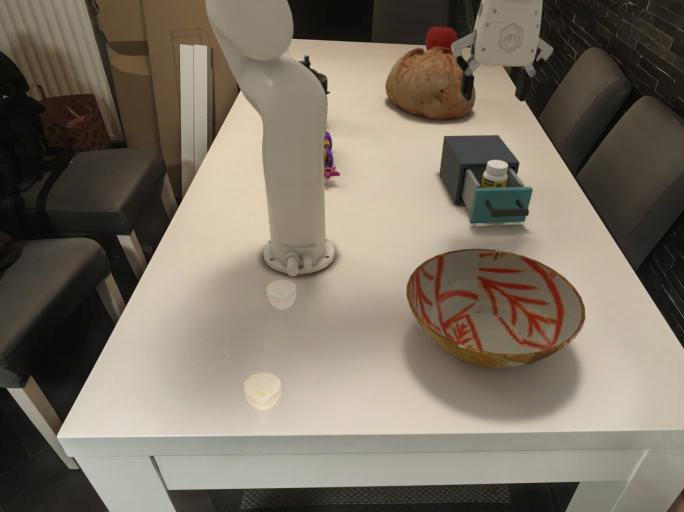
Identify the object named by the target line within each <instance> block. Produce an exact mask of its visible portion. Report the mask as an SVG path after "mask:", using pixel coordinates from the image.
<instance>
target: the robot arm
mask: <svg viewBox="0 0 684 512" xmlns="http://www.w3.org/2000/svg"><path fill="white" fill-rule="evenodd" d="M205 11H206V16H207V18H208V22H209V24H210V27H211V29H212V32H213V34H214V36H215V38H216V40H217V42H218V45H219V47H220V50H221V52H222V53H223V55H224V58H225V60H226V62H227V64H228V66H229V69H230V71H231V73H232V75H233V78H234V79H235V81H236V83H237V85H238V87H239V89H240V91H241V93H242V95H243V97H244V98H245V99H246V101H247V102H248V103H249V104H250V106H252V108H253V109H254V110H255V111H256V112H257V114H258V115H259V117H260V118H261V122H262V143H261V156H262V158H261V159H262V169H263V177H264V185H265V186H264V187H265V196H266V205H267V206H266V207H267V217H268V226H269V235H270V240H268V241H267V242H266V244H265V245H264V247H263V249H262V251H263V252H262V253H263V255H262V256H263V260H264V261H265V263H266V264H267V265H268V267H270V268H271V269H273V270H275V271H277V272H280V273H284V274H287V275H288V276H289V277H296V276H298V275H308V274H313V273H316V272H320V271H322V270H323V269H325V268H326V267H328V266H330V265H331V263H332V262H333V261H334V259H335V256H336V249H335V246H334V244H333V242H332V241H331V240H330V239H329V238H327V235H326V194H325V176H324V136H325V131H326V128H327V121H328V120H327V119H328V114H327V112H328V106H327V101H328V98H327V99H326V95H325V92H324V89H323V87H322V85H321V83H320V82H319V80H318V79H317V77H316V76H315V75H314V74H313V73H312V72H311V71H310V70H309V69H308V68H306V67H305V66H304V65H302V64H301V63H300V62H298V61H299V60H297V59H295V58H294V57H293V56H292V54H291V51H290V50H289V48H290V46H291V43H292V40H293V36H294V20H293V14H292V10H291V8H290V4H289V2H288V0H205ZM542 14H543V0H481V1H480V4H479V8H478V11H477V14H476V19H475V22H474V28H473V31H472V32H471V33H468V34H467V35H465V36H463V37H461V38H459V39H458V40H457V41H455V42H454V43H452V44H451V48H452V52H453V55H454V57H455V61H456V62H457V64H458V65H459V67H460V68H461V69H462V71H463V77H462V83H461V94H462V95H463V97H464V98H465V100H466V101H470V100H471V96H472V90H473V84H474V85H475V76H474V75H473V74H474V73H475V71H476V70H477V69H478V68H479V67H480V66H487V67H520V68H521V69H522V71H520V72H519V74H518V78H517V82H516V86H515V92H514V97H515V98H516V99H517V100H518V101H519V102H524V101H525V100H526V96H527V95H528V94H529V90H530V86H531V81H532V78H533V77H534V76H535V75H536V73H537V72H538V71H539V70H541V68H543V67H544V66H545V64H546V61H548V59H549V58H550V56H551V55H552V53H553V52H554V48H553V46H551V44H549V43H547V42H546V41H545V40H543V39H542V38H541V37H540V32H541V24H542ZM469 46H470V49H469V51H470V52H469V53H470V56H469V57H468V58H467V59H465V58H464V56H463V50H464V49H466V48H467V47H469ZM538 48H539V50H540V52H539V54H538V55H537V57H536V54H537V50H538Z"/></svg>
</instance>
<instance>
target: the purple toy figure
mask: <svg viewBox="0 0 684 512" xmlns="http://www.w3.org/2000/svg"><path fill="white" fill-rule="evenodd" d="M332 149H333V138H332V136H331V133H330V132H329V131H326V130H325V136H324V178H326V180H330V179H331V178H332V177H341V172H339V171H337V170H336V166H334V155H333V153H332Z"/></svg>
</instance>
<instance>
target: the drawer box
mask: <svg viewBox="0 0 684 512" xmlns="http://www.w3.org/2000/svg"><path fill="white" fill-rule="evenodd" d="M490 160H501V161H504V162H506V163H507V164H508V167H511V168H512V169H513V171H514V172H515V173H516V175H517V176H518V172H519V168H520V163H521V162H520V160H519V159H517V157H516V156H515V154H514V153H513V152H512V151H511V149H510V148H509V147H508V145H506V143H505V142H504V141H503V139H502V138H501V137H500V135H499V134H485V135H483V134H481V135H480V134H479V135H474V134H473V135H444V136H443V142H442V150H441V158H440V165H439V176H440V178H441V180H442V182H443V184H444V187H445V188H446V190H447V192H448V194H449V196H450V198H451V200H452V203H454V205H466V204H465V203H464V201H463V199H462V197H461V195H460V193H461V186H462V180H463V174H464V168H478V167H487V163H488V161H490Z"/></svg>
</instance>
